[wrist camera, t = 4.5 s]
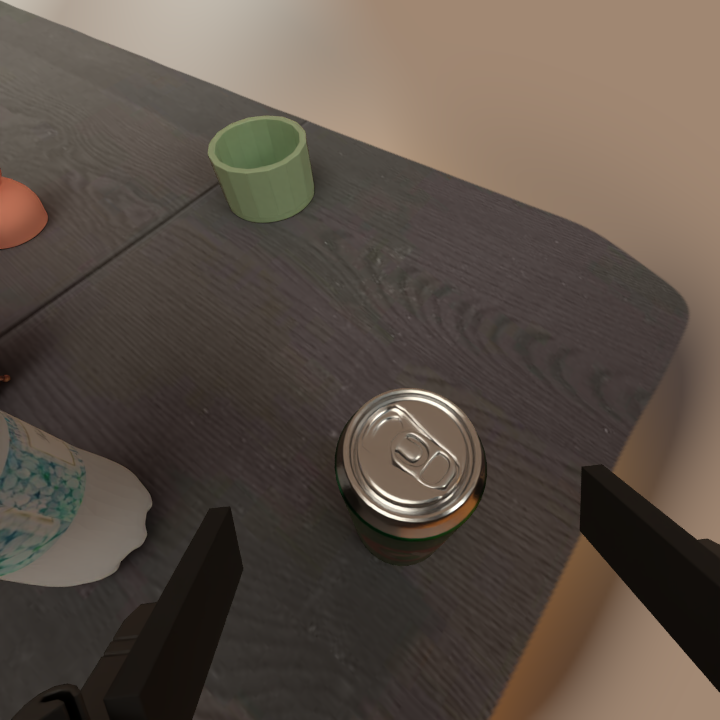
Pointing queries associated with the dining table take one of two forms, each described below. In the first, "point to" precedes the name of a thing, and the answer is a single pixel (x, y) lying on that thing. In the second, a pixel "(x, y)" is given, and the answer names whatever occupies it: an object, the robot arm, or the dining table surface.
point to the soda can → (409, 473)
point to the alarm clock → (5, 378)
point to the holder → (263, 168)
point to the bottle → (63, 509)
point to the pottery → (19, 213)
